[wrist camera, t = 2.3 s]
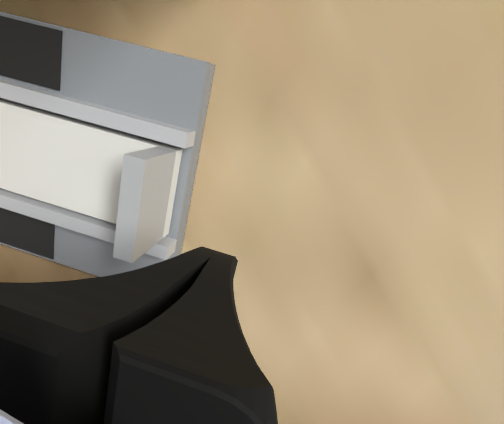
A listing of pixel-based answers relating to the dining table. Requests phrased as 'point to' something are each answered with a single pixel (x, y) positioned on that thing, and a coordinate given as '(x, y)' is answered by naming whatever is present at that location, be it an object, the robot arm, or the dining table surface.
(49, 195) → the sled
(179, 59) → the track
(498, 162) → the dining table surface
